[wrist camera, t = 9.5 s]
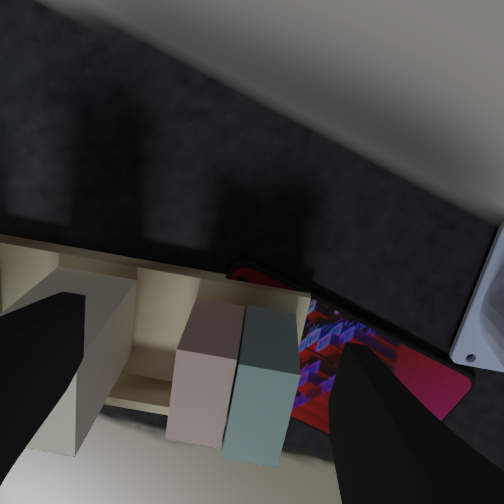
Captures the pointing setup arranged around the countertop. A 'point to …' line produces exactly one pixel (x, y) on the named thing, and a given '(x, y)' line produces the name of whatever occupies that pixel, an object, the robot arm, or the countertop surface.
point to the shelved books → (235, 380)
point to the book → (87, 352)
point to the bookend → (0, 295)
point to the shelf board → (143, 307)
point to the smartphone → (360, 332)
